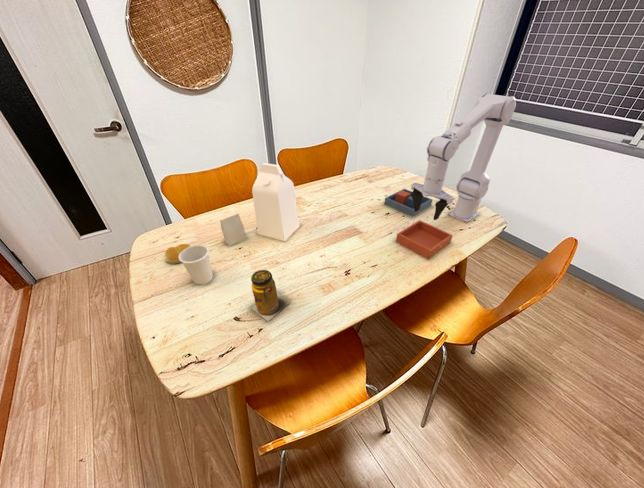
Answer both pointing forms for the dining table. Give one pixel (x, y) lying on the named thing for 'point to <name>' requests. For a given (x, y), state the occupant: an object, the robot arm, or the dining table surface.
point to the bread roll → (175, 253)
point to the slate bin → (403, 208)
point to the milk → (275, 203)
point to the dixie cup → (197, 263)
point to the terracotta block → (402, 197)
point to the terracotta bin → (424, 239)
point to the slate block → (410, 202)
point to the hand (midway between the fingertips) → (426, 214)
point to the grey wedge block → (233, 230)
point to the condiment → (266, 295)
